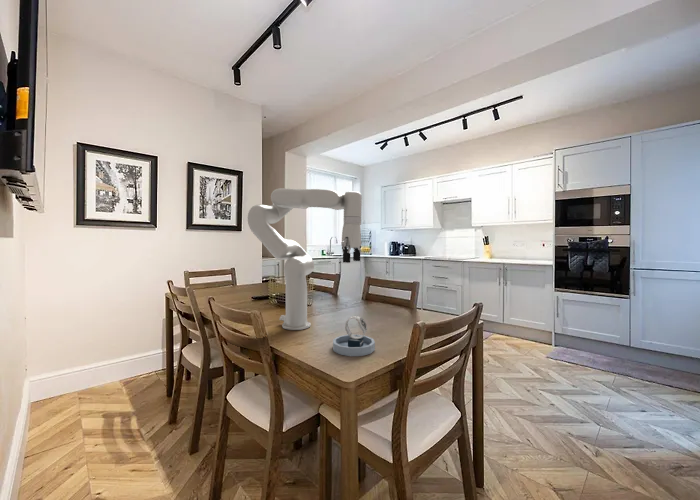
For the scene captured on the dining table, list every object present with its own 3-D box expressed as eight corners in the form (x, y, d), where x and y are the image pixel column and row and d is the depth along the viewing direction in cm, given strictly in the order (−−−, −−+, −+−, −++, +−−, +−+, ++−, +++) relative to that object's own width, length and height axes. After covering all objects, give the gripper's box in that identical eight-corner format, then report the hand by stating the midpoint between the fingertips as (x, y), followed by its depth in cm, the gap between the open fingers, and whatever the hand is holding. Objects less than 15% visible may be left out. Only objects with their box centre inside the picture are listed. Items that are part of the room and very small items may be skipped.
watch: (364, 350, 115) (365, 319, 114) (343, 347, 117) (343, 317, 117) (368, 345, 120) (368, 315, 120) (347, 343, 122) (347, 314, 122)
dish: (325, 351, 115) (325, 343, 115) (344, 339, 129) (344, 332, 129) (364, 359, 109) (364, 350, 109) (380, 345, 122) (380, 338, 122)
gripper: (353, 222, 147) (352, 259, 148) (334, 220, 132) (334, 262, 132) (368, 222, 144) (367, 260, 145) (351, 220, 128) (350, 263, 129)
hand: (351, 261), depth 139 cm, fingers open, 9 cm apart
